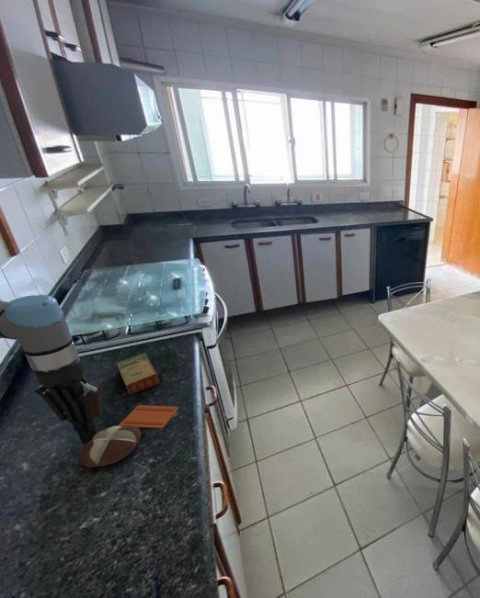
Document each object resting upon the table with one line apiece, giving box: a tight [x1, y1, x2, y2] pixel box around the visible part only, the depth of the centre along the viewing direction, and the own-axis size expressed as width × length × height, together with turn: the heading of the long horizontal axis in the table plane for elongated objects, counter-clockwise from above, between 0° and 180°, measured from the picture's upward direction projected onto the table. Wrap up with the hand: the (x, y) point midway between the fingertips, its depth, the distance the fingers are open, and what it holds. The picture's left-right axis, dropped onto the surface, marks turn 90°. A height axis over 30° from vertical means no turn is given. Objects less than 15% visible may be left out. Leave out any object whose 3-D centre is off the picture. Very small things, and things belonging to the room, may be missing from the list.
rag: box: [117, 404, 179, 429], centre depth 94 cm, size 12×8×1 cm, turn 91°
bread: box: [79, 425, 142, 468], centre depth 82 cm, size 11×11×5 cm
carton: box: [116, 352, 161, 396], centre depth 107 cm, size 8×16×4 cm, turn 46°
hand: (89, 439), depth 83 cm, fingers closed
